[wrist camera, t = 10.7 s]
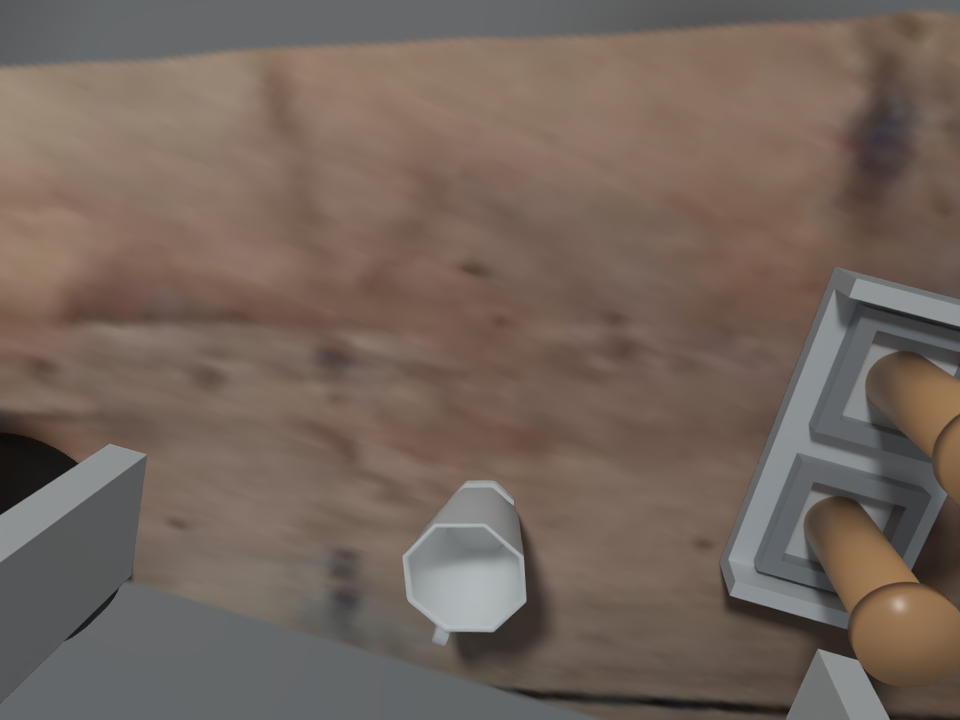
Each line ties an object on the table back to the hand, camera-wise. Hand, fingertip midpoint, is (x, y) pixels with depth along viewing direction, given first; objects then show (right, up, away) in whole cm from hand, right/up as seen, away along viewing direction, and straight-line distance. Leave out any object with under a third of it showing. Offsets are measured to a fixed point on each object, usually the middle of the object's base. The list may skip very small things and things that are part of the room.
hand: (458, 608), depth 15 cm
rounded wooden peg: (+21, -5, +30) cm, 37 cm away
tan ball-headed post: (+23, +3, +28) cm, 36 cm away
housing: (+22, 0, +30) cm, 38 cm away
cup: (0, -6, +35) cm, 36 cm away
